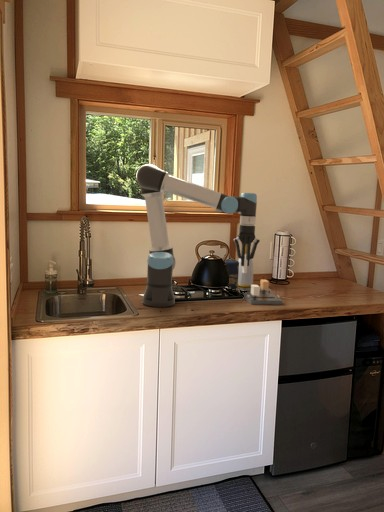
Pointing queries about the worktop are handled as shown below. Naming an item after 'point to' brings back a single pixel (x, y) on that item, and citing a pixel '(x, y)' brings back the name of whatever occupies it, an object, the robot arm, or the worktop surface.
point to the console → (262, 297)
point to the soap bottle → (245, 278)
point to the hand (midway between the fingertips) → (244, 272)
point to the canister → (232, 272)
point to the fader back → (264, 284)
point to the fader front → (255, 290)
